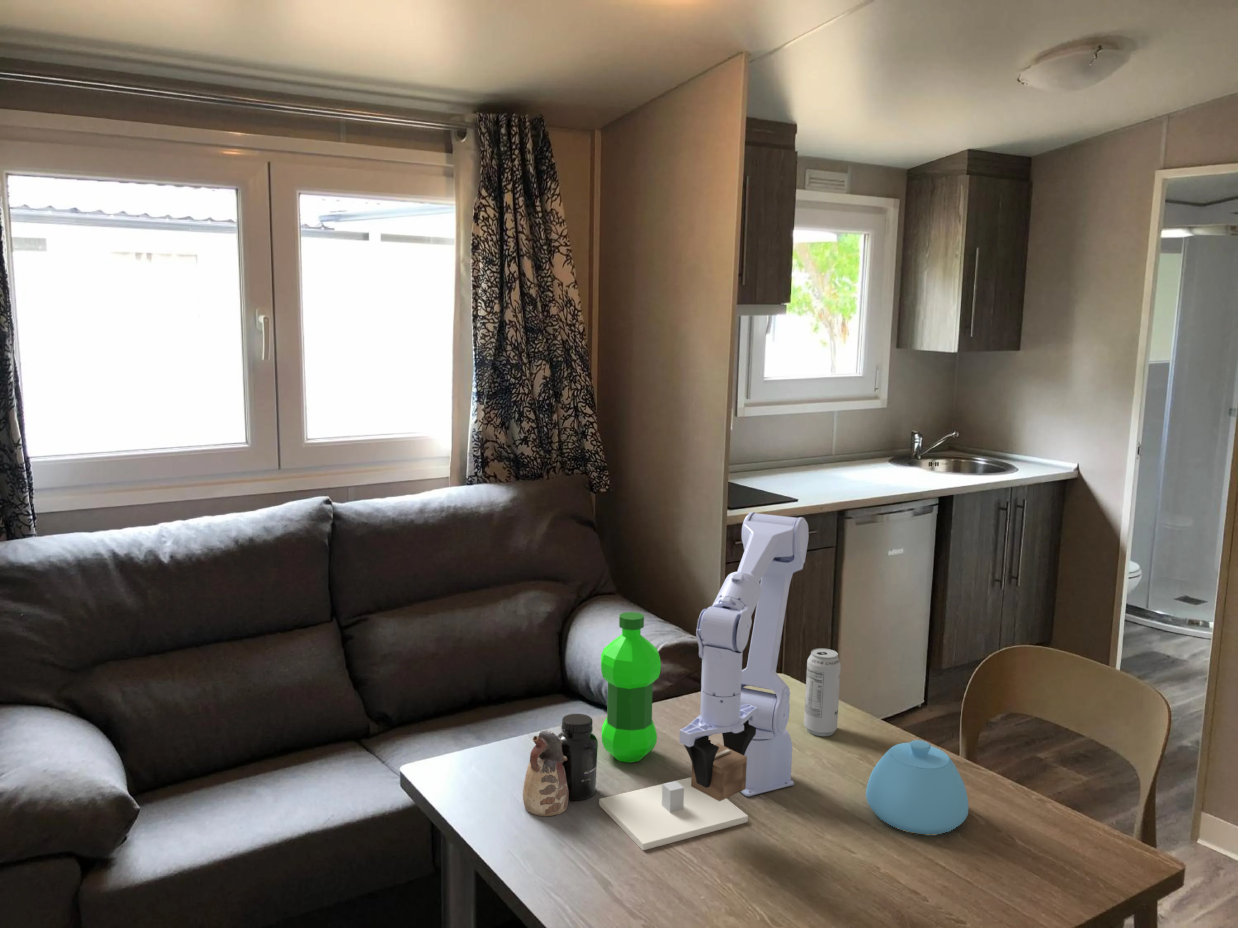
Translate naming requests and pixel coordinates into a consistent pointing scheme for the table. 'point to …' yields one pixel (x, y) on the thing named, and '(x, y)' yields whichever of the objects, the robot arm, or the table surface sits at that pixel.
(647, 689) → the plastic bottle
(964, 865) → the table surface
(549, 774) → the figurine
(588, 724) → the supplement bottle
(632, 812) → the board
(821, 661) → the energy drink can
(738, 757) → the walnut knob
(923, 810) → the sugar bowl
